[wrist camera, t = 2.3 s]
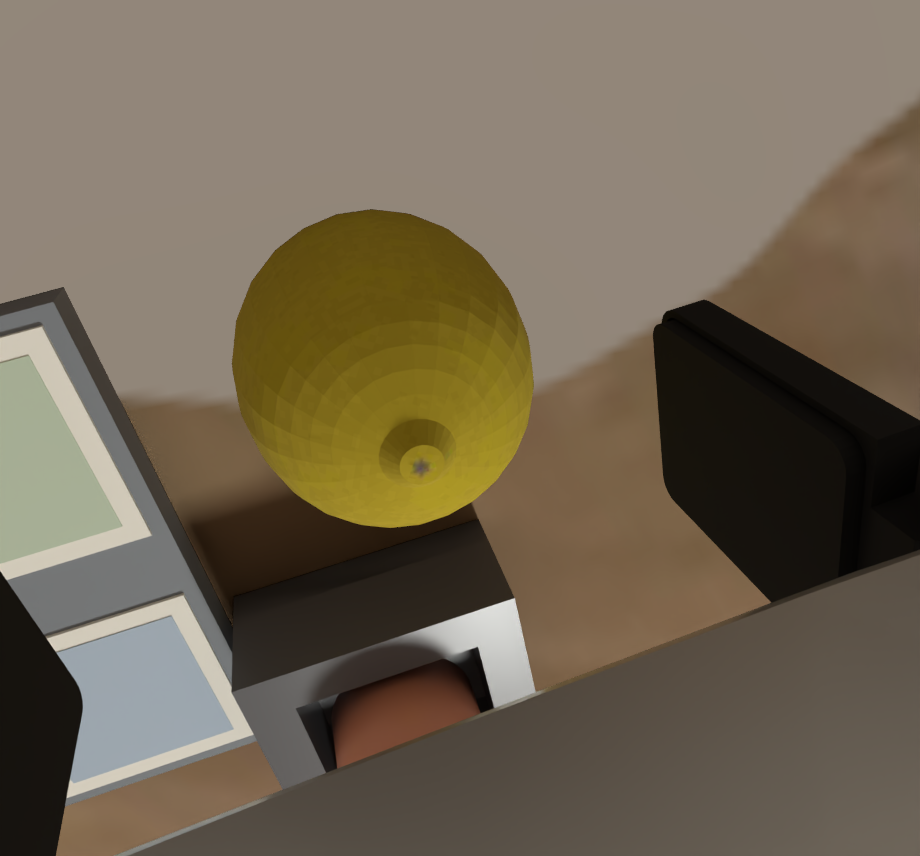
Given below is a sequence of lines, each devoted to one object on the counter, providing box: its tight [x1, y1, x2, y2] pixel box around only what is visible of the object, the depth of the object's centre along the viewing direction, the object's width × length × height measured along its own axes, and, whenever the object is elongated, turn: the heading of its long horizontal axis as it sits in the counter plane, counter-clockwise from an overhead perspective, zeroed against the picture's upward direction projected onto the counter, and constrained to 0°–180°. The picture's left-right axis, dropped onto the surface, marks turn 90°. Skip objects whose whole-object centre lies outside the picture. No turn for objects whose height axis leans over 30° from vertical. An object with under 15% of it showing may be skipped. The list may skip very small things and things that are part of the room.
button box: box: [231, 519, 535, 789], centre depth 22 cm, size 7×7×4 cm
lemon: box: [232, 209, 534, 528], centre depth 15 cm, size 6×6×8 cm
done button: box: [331, 658, 480, 769], centre depth 20 cm, size 4×4×3 cm
